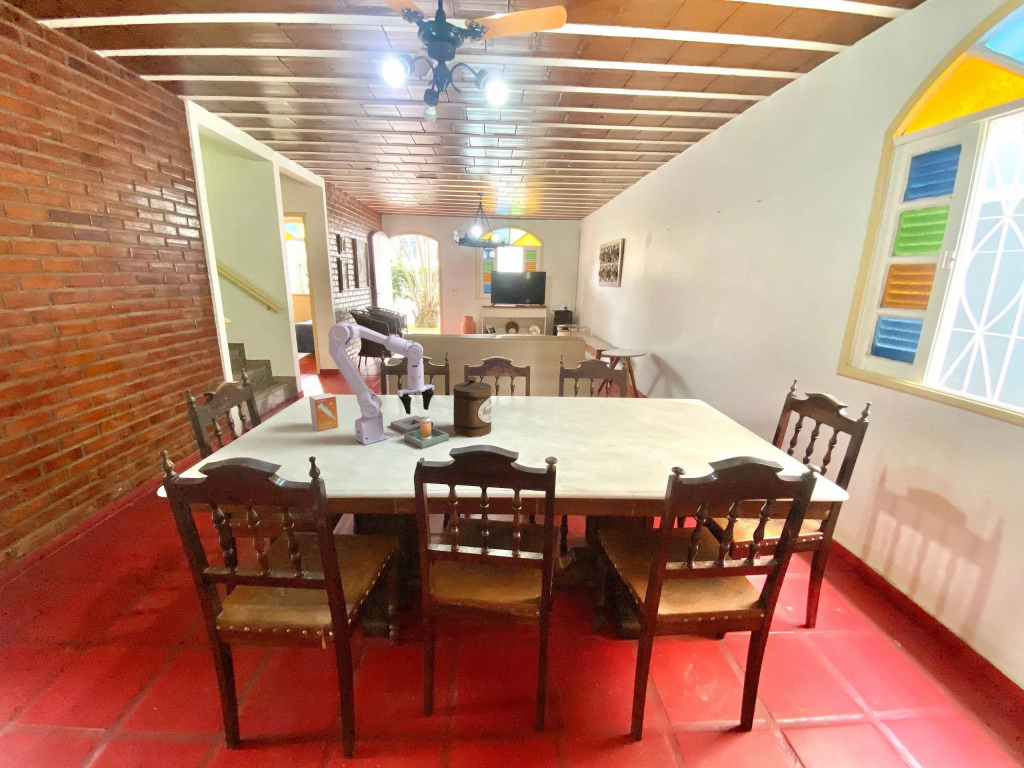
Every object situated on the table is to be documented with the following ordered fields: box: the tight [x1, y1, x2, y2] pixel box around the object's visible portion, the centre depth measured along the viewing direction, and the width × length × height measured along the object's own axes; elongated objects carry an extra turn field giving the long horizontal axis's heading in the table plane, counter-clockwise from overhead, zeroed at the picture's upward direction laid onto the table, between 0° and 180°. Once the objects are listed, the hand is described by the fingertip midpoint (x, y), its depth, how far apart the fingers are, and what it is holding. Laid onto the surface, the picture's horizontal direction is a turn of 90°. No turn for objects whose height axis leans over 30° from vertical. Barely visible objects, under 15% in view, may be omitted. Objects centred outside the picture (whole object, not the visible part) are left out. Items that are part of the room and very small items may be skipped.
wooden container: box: [453, 375, 492, 438], centre depth 160 cm, size 15×15×22 cm
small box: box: [308, 392, 339, 433], centre depth 162 cm, size 8×6×13 cm
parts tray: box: [403, 426, 450, 450], centre depth 152 cm, size 12×12×2 cm
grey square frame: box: [390, 415, 434, 434], centre depth 166 cm, size 12×12×2 cm
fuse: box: [420, 416, 432, 441], centre depth 151 cm, size 4×4×8 cm
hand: (417, 411), depth 154 cm, fingers open, 7 cm apart
